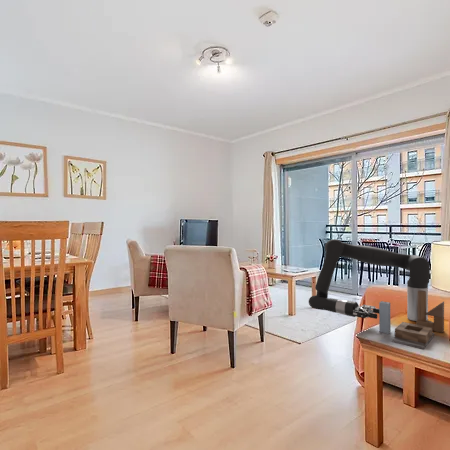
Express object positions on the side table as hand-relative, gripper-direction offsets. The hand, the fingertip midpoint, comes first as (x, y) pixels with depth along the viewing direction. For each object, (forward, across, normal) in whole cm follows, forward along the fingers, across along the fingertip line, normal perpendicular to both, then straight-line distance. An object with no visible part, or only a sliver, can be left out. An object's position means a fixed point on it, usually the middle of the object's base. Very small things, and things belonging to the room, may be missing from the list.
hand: (380, 314), depth 152 cm
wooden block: (+17, +17, +8) cm, 25 cm away
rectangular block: (+2, 0, +8) cm, 8 cm away
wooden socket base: (+14, 0, +8) cm, 16 cm away
